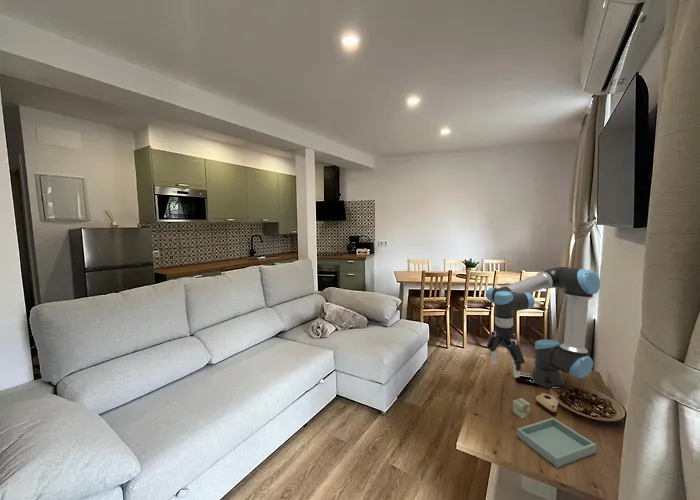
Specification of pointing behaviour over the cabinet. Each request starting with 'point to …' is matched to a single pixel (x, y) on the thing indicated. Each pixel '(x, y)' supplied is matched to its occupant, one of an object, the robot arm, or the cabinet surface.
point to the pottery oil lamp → (547, 401)
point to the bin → (556, 442)
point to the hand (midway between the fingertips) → (505, 370)
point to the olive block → (521, 408)
